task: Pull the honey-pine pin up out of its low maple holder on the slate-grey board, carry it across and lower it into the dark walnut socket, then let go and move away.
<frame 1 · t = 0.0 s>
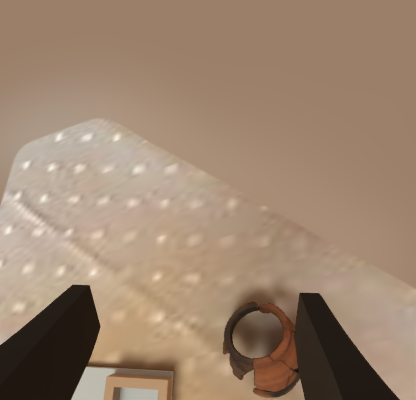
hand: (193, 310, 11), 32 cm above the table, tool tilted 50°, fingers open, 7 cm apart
brown curved piece: (273, 349, 40), on the table
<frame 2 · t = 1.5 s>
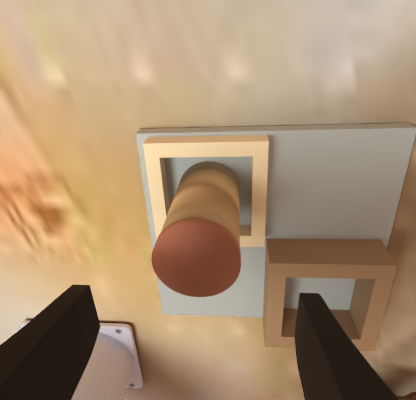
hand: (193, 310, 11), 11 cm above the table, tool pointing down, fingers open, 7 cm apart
mount: (265, 229, 22), on the table
pin: (209, 189, 20), point 1 cm above the table, touching mount
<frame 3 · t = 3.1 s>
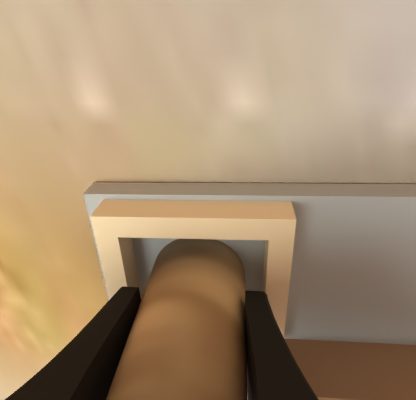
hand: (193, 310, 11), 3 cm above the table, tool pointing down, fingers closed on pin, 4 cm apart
mount: (280, 320, 15), on the table
pin: (199, 273, 13), point 1 cm above the table, touching gripper, mount
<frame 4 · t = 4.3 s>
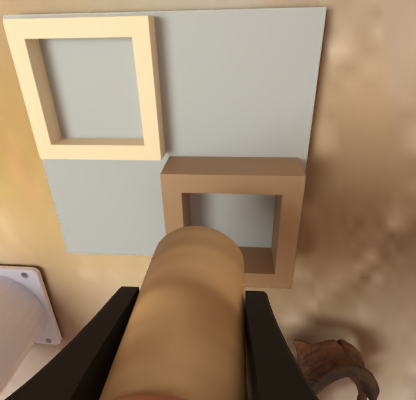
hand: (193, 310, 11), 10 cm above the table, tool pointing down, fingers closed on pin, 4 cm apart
mount: (172, 150, 19), on the table
brown curved piece: (290, 359, 27), on the table
pin: (198, 264, 13), point 8 cm above the table, touching gripper
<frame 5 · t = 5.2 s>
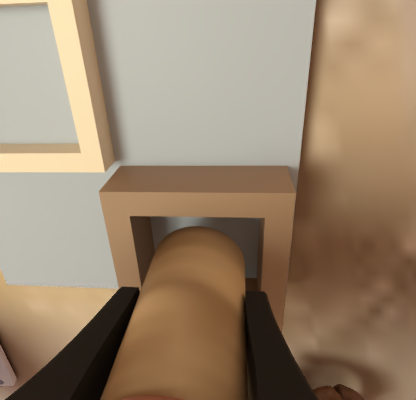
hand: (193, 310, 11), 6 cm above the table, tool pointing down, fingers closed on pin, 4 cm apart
mount: (127, 157, 15), on the table
pin: (199, 264, 13), point 4 cm above the table, touching gripper
when the fingers open (4 cm above the table, at t = 5.8 s): pin drops 1 cm, resting on mount.
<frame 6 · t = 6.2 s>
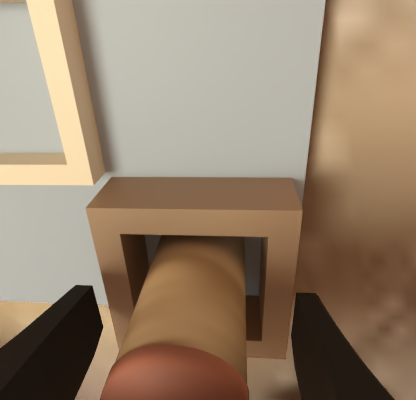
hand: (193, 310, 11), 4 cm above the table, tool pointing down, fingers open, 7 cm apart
mount: (119, 167, 14), on the table
pin: (202, 245, 14), point 1 cm above the table, touching mount
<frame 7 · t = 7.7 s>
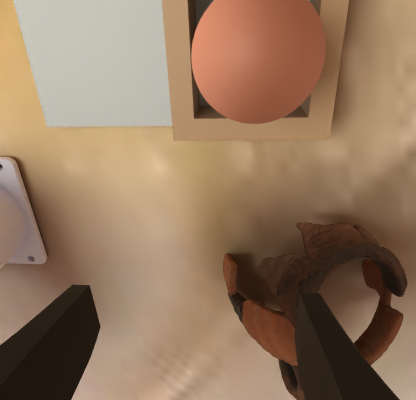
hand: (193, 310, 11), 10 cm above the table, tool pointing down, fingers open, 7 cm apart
brown curved piece: (295, 272, 23), on the table
pin: (250, 44, 15), point 1 cm above the table, touching mount
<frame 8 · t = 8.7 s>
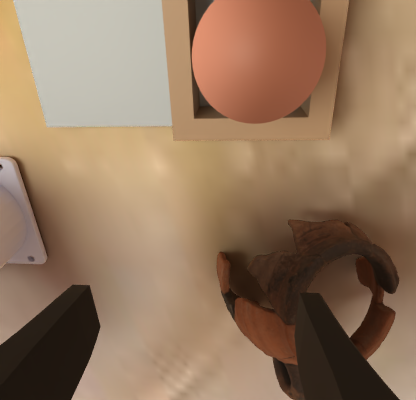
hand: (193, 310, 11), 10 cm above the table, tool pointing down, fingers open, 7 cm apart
brown curved piece: (289, 271, 23), on the table
pin: (250, 44, 15), point 1 cm above the table, touching mount
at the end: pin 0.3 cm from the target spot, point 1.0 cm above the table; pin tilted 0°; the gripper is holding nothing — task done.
